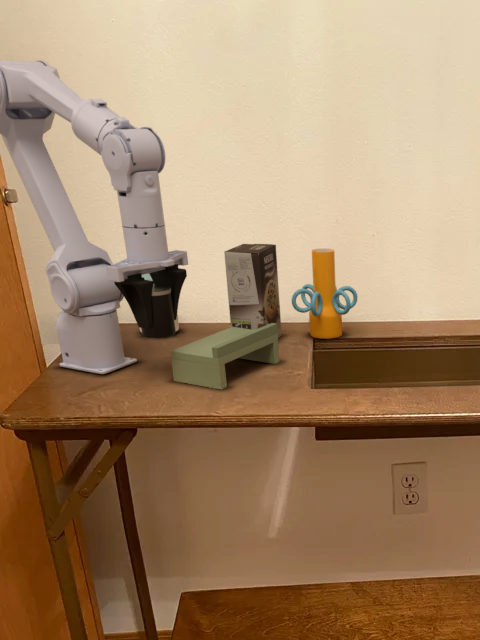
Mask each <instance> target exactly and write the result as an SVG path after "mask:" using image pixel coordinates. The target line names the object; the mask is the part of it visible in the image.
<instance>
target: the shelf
mask: <svg viewBox="0 0 480 640" xmlns="http://www.w3.org/2000/svg"><path fill="white" fill-rule="evenodd" d="M169 353H170V360H171V368H172V374H173V375H172V377H173V382H178V383H183V384H189V385H194V386H199V387H205V388H210V389H215V390H224V389H226V388H228V384H227V375H226V374H227V373H226V364H228V363H230V362H232V361H235V360H236V359H241V360H249V361H254V362H260V363H267V364H274V365H276V364H278V363H280V362H281V361H280V346H279V338H278V331H277V324H276V323H271V324H268V325H266V326H263V327H261V328H258V329H256V330H251V329H244V328H237V327H231V326H230V327H228V328H226V329H223V330H220V331H218V332H215V333H213V334H210V335H208V336H205V337H201V338H200V339H197V340H194V341H192V342H189V343H187V344H184V345H182V346H179V347H176V348H174V349H171V350H170V352H169Z"/></svg>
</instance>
